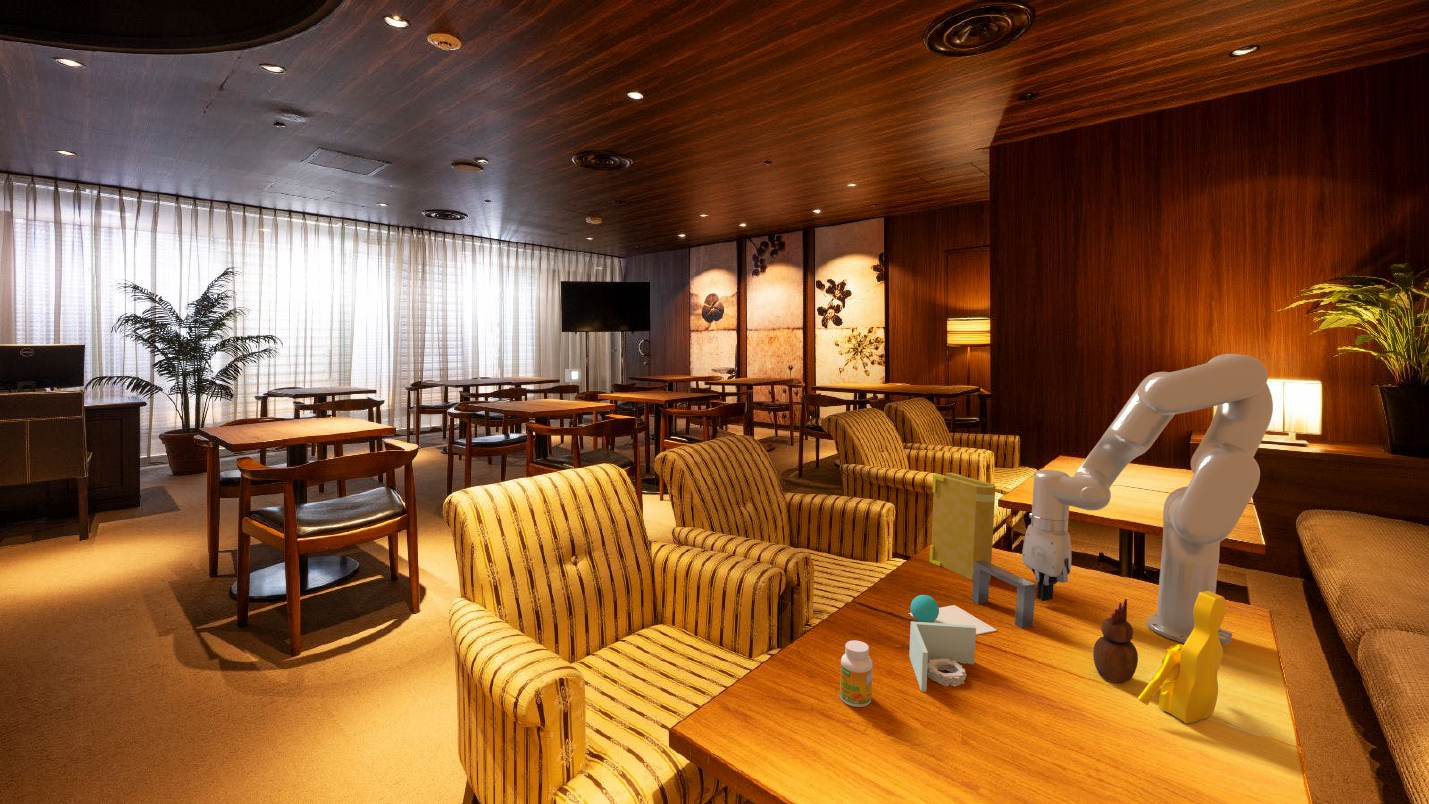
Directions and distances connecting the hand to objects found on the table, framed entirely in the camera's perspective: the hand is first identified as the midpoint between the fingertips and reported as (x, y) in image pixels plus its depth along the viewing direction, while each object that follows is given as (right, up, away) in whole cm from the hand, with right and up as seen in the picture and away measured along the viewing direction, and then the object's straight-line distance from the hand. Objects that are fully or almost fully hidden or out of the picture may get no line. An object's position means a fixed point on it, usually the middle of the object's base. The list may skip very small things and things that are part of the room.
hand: (1044, 598), depth 143 cm
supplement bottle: (-53, -6, -38) cm, 66 cm away
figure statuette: (+1, -6, -42) cm, 42 cm away
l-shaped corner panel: (-34, -5, -30) cm, 46 cm away
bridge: (-12, -2, -4) cm, 13 cm away
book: (-11, +1, +22) cm, 24 cm away
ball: (-31, +1, -9) cm, 33 cm away
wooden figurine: (-4, -5, -31) cm, 31 cm away
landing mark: (-25, -2, -9) cm, 27 cm away
